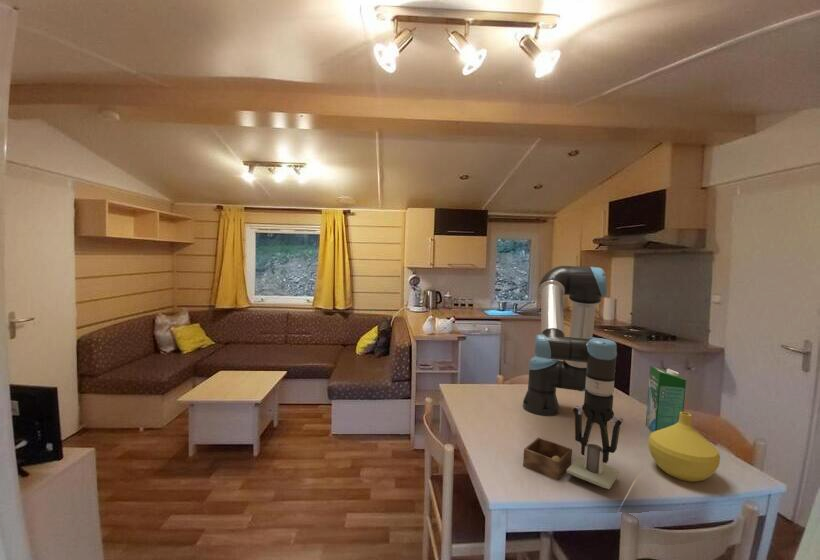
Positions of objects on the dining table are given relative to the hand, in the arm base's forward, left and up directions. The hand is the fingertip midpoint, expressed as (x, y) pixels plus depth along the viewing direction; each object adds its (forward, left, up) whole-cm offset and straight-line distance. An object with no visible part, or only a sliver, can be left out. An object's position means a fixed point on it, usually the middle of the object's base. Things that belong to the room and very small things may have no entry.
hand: (593, 468), depth 113 cm
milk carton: (+10, +56, -4) cm, 57 cm away
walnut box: (-13, -2, -4) cm, 14 cm away
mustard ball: (-11, 0, -3) cm, 12 cm away
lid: (0, 0, -1) cm, 1 cm away
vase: (+19, +26, -4) cm, 32 cm away
